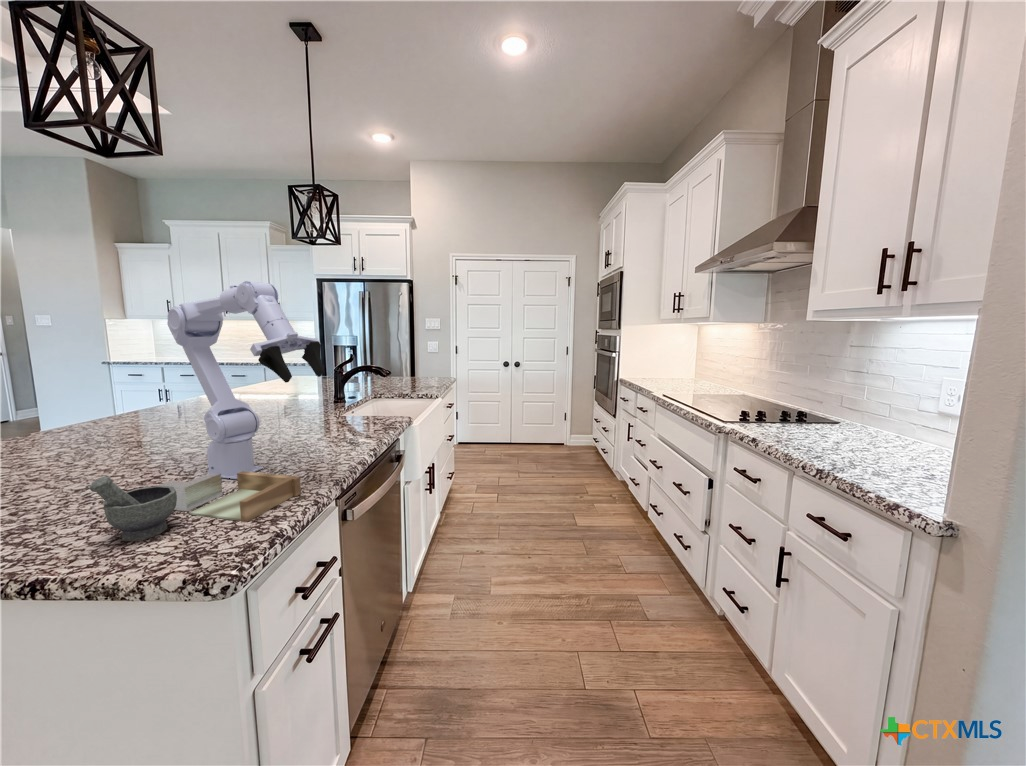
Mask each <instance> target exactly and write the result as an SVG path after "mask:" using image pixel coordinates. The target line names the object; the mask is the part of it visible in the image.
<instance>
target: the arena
mask: <svg viewBox="0 0 1026 766" xmlns="http://www.w3.org/2000/svg"><path fill="white" fill-rule="evenodd" d="M236 480H237V490H236V491H233V492H231V493H229V494H227V495H225V496H221V498H220V497H219V498H218V499H216V500H214V501H212V502H211V501H210V503H209V502H208V503H206V504H204V505H203V506H201V507H198V508H197V509H194V510H192V511H190V512H189V513H188V514H189V515H190V516H192V515H193V516H199V517H207V518H213V519H222V520H223V519H224V520H231V521H239V522H246V523H249V521H252V520H254V519H255V518H257V517H258V516H261V515H263V514H264V513H266V512H267V511H270V510H271V509H273V508H275V507H277V506H278V505H280V504H282V503H283V502H286V501H287V500H289V499H291V498H293V497H298V496H299V495H301V494H302V492H301V491H302V490H301V489H302V488H301V477H300V476H296V475H295V476H294V475H283V474H274V473H263V472H257V471H256V472H245V471H242V472H239V473H237V479H236Z"/></svg>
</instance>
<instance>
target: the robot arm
mask: <svg viewBox="0 0 1026 766" xmlns="http://www.w3.org/2000/svg"><path fill="white" fill-rule="evenodd" d="M278 302H279V292H278V289H277V287H276V286H274V285H273V284H271V283H265V282H258V281H257V282H256V281H248V280H244V281H243V282H242V283H239V284H238V285H236V284H232V285H229V288H228V289H225V290H223V291H222V292H220V295H219V296H218V297H217V296H215V297H211V298H206V299H202V300H195V301H191V302H189V301H187V302H183V303H181V304H178V306H172V307H171V308H170V309H168V312H167V327H168V329H169V330H170V333H171V335H172V338H173V339H174V340H175V342H176V345H179V346H181V347H182V349H183V351H184V353H185V356H186V357H187V359H188V361H189V363H190V365H191V368H192V369H193V371H194V373H195V375H196V377H197V380H198V381H199V383H200V385H201V387H202V390H203V391H204V394H205V396H206V397H207V400H208V402H209V403H210V406H211V407H210V408H208V410H207V411H206V412H205V413H204V414H205V415H204V416H203V420H204V423H205V426H206V427H205V428H206V433H207V435H208V437H209V438H210V439H211V441H210V442H209V444H208V446H207V448H206V449H207V450H206V456H207V457H206V458H207V465H208V466H207V467H208V472H207V473H206V474H205V475H207V474H210V473H219V474H221V479H229V478H230V479H232V480H237V473H239V472H242V471H245V472H256V473H257V472H259V471H261V470H262V469H264V466H261V465H260V466H259V465H255V460H254V458H255V457H254V446H253V438H254V437H256V433H257V432H258V431H259V428H260V418H259V415H258V414H257V413H256V412H255V411H254V410H253V409H252V407H251V405H250V404H249V403H248V402H245V401H243V400H239V399H237V398H236V397H235V394H234V392H233V391H232V389H231V387H230V385H229V383H228V381H227V379H226V377H225V376H224V374H223V371H222V369H221V367H220V366H219V364H218V361H217V359H216V357H215V356H214V353H213V351H212V349H211V346H213V345H215V344H216V343H217V341H218V339H219V336H220V334H221V330H222V327H223V325H224V324H223V323H224V322H223V321H224V317H223V313H225V312H228V313H230V314H233V315H235V314H236V315H237V314H241V313H246V312H247V313H248V314H251V315H253V318H254V319H255V322H256V323H257V324H258V327H259V328H260V330H261V331H262V333H263V335H264V337H265V338H266V341H261V342H253V343H252V344H251V347H250V348H249V350H250V352H251V353H252V355H253V357H258V362H259V364H260V365H263V366H264V367H266V368H268V369H269V370H271V371H272V372H273V373H275V375H277V376H278V377H279V378H280V380H282V381H283V382H284V383H289V382H290V380H291V379H292V378H293V374H292V372H291V371H290V369H289V368H288V365H287V364H286V362H285V360H284V356H283V355H284V354H288V353H290V352H291V353H292V352H295V351H300V350H303V353H304V354H303V355H302V356H301V359H302V360H304V361H305V362H306V363H307V364H308V365H309V366H310V368H311V369H312V372H313V373H314V374H315V375H316V377H318V378H319V377H322V375H324V373H325V369H324V366H323V363H322V354H321V352H322V349H321V347H322V344H321V342H320V341H319V339H318V337H308V336H304V335H303V336H302V335H299V334H298V332H296V331H295V330H294V328H293V325H292V324H291V322H290V321H289V319H288V317H287V316H286V314H285V312H284V311H283V309H282V307H281V305H280V304H279V303H278Z"/></svg>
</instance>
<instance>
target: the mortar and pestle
mask: <svg viewBox="0 0 1026 766" xmlns="http://www.w3.org/2000/svg"><path fill="white" fill-rule="evenodd" d="M89 490H90V491H91V492H93V493H94V492H95V493H96V494H98V495H99V496H100V498H101V499H103V502H102V503H103V510H104V516H105V518H106V521H107V523H108V524H109V525H110V526H111V527H112V528H114V529H115V530H118V531H121V538H122V541H126V542H136V541H142V540H147V539H150V538H153V537H155V536H158V535H160V534H162V533H163V532H165V531H166V530H167V529H168V524H167V522H166V520H167V519H168V518H169V517H170V516H172V514H173V513H174V511H175V510H174V509H175V507H176V502H177V494H176V490H175V488H174V487H173V486H159V485H153V486H146V487H138V488H135V489H131V490H128V491H125V490H123V489H122V488H120V486H118V485H117V484H116V483H114V482H113V481H112V478H111V477H109V476H101V477H99V478H97V479H96V480H94V481H93V482H91V484H90V485H89Z"/></svg>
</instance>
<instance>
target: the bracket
mask: <svg viewBox="0 0 1026 766" xmlns="http://www.w3.org/2000/svg"><path fill="white" fill-rule="evenodd" d="M206 474H207V475H206ZM206 474H205V475H202V476H199V477H196V478H194V479H191V480H189V481H177V480H169V481H166V482H163V483H160V484H158V486H173V487H174V488H175V490H176V494H177V502H176V507H175V509H174V511H182V512H189V511H191V510H193V509H194V510H195V508H197V507H198V508H199V507H200V506H202V505H206V504H208V503H209V502H211V501H213V500H215V498H216V499H217V498H218V499H219V498H220V497H223V483H222V478H221V474H219V473H210V474H208V473H206Z"/></svg>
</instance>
